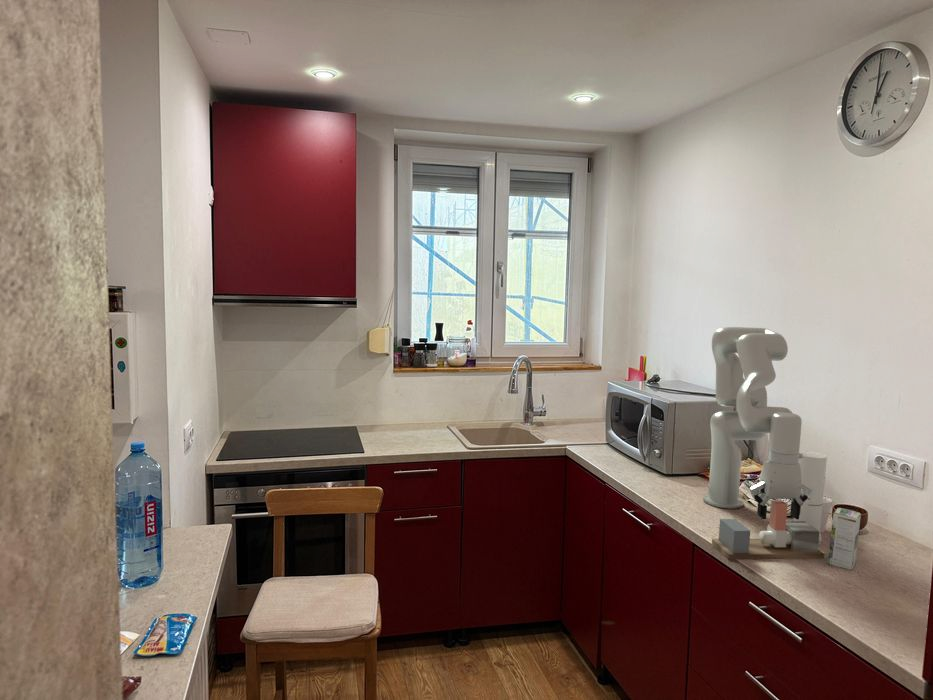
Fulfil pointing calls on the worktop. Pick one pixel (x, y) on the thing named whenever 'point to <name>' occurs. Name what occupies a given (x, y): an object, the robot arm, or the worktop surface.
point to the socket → (734, 535)
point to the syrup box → (844, 538)
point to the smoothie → (825, 512)
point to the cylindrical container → (812, 487)
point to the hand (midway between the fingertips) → (778, 517)
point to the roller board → (800, 547)
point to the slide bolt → (778, 526)
